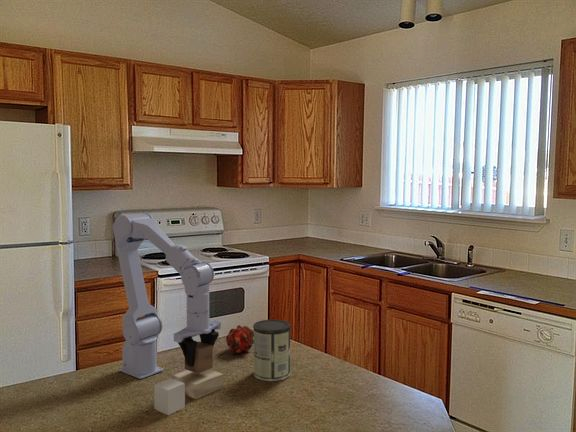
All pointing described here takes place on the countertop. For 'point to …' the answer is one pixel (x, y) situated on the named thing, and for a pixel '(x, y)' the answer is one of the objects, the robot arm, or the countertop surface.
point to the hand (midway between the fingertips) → (198, 362)
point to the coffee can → (272, 350)
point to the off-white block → (169, 396)
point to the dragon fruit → (240, 339)
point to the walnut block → (202, 358)
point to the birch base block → (200, 382)
